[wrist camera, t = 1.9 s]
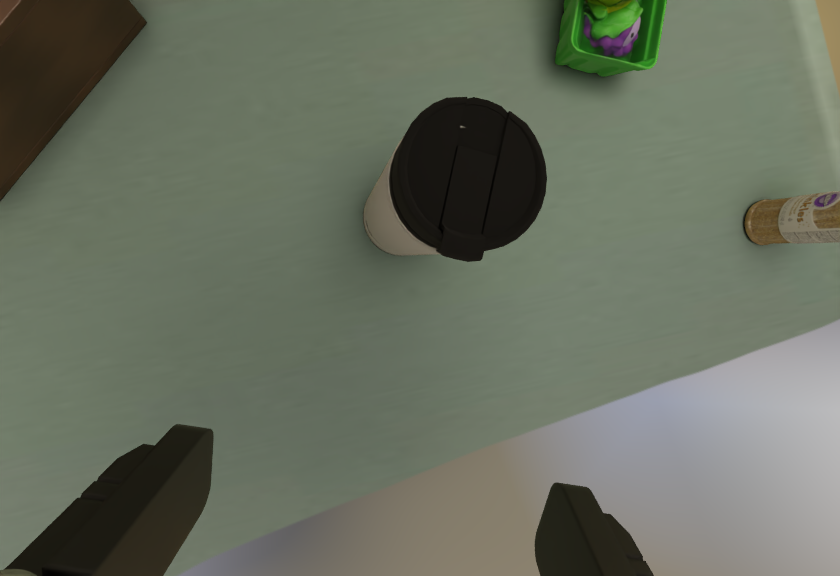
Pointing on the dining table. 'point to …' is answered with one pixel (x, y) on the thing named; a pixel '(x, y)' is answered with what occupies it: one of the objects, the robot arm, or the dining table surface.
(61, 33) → the cabinet
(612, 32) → the fruit basket
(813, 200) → the sprinkles bottle
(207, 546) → the dining table surface
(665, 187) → the dining table surface
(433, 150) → the travel mug
